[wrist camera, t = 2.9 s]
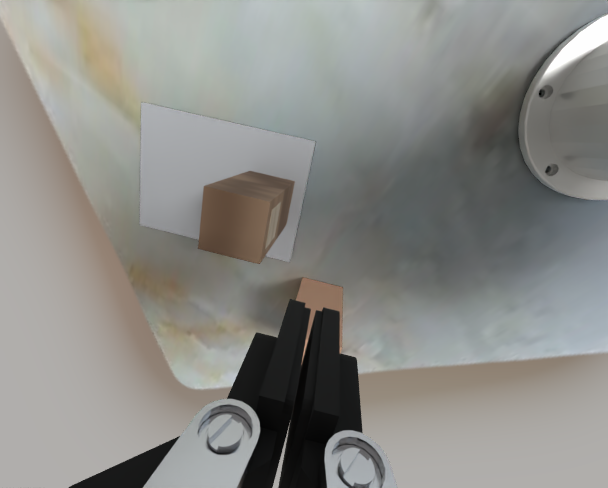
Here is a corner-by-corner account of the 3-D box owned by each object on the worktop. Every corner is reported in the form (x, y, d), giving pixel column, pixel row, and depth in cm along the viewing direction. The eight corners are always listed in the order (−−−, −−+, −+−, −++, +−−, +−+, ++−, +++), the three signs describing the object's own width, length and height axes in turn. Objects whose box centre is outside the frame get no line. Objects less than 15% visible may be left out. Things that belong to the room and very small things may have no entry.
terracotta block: (342, 287, 29) (341, 348, 21) (333, 321, 30) (328, 391, 22) (302, 277, 29) (285, 333, 21) (294, 311, 31) (275, 377, 22)
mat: (316, 141, 25) (315, 141, 24) (290, 259, 29) (289, 262, 28) (145, 102, 26) (141, 101, 25) (143, 223, 29) (139, 224, 29)
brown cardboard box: (295, 181, 26) (271, 202, 17) (286, 225, 27) (260, 264, 19) (250, 170, 26) (203, 186, 17) (243, 214, 27) (197, 248, 19)
